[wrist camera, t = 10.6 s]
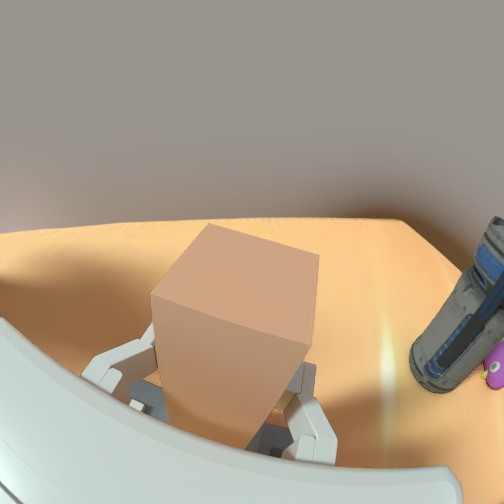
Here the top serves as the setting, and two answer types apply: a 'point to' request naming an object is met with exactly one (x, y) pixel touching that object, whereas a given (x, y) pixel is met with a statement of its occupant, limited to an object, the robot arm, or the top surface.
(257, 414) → the plug block
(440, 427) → the top surface
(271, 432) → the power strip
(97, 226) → the top surface
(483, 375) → the toy
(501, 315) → the beverage bottle
